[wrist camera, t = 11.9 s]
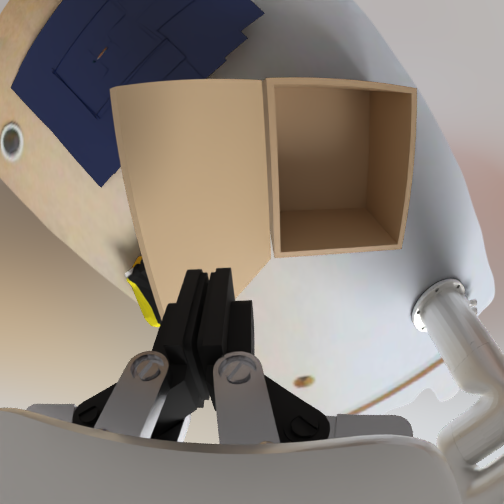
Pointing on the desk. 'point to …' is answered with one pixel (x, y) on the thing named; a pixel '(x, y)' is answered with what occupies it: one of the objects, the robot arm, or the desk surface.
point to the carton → (338, 164)
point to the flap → (195, 178)
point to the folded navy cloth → (120, 63)
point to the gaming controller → (143, 292)
